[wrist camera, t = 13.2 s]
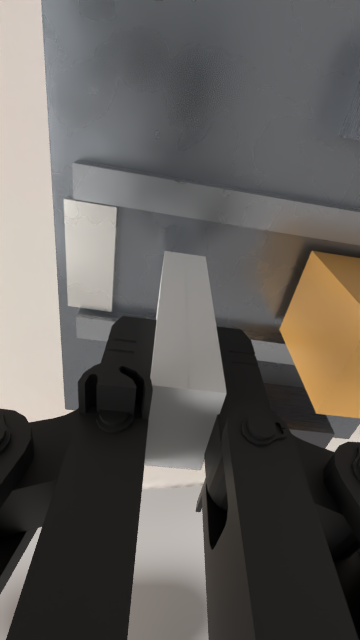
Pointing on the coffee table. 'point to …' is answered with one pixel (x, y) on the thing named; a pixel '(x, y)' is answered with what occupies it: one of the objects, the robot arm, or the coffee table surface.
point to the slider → (327, 333)
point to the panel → (202, 166)
